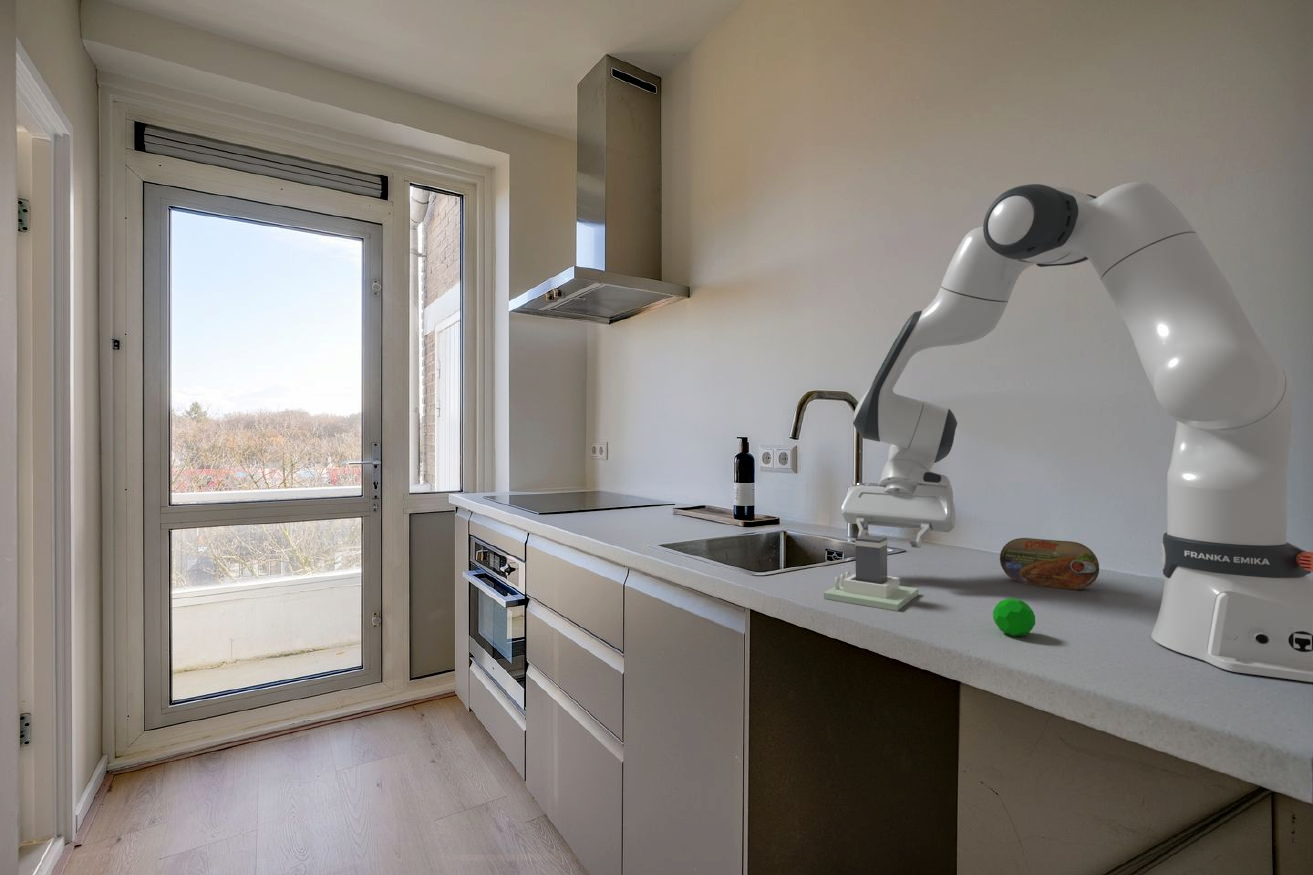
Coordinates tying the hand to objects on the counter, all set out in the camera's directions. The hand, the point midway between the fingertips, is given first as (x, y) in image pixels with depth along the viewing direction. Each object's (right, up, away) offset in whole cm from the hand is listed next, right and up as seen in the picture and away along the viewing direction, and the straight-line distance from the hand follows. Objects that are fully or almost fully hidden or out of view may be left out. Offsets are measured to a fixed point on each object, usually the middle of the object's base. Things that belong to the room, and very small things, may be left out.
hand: (888, 542), depth 110 cm
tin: (+29, -8, -1) cm, 30 cm away
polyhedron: (+7, -8, -27) cm, 29 cm away
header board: (-6, -8, -8) cm, 13 cm away
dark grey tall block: (-6, -7, -8) cm, 12 cm away
